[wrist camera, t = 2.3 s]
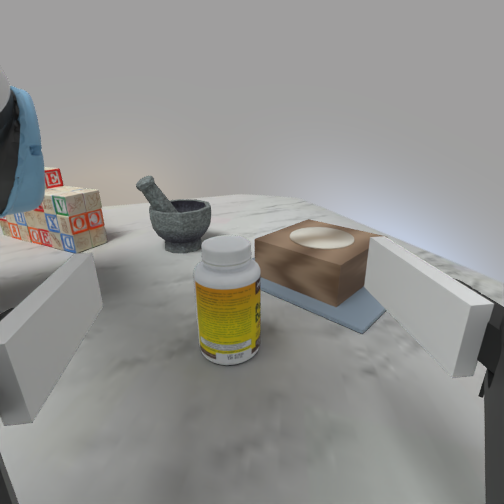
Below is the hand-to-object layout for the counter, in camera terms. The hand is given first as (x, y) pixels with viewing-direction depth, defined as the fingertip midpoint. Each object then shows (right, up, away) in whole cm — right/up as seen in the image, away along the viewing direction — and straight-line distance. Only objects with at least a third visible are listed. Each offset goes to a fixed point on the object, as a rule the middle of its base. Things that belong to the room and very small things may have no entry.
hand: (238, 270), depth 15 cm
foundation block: (+9, -2, +27) cm, 29 cm away
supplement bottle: (-1, -8, +14) cm, 16 cm away
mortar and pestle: (-11, +2, +38) cm, 40 cm away
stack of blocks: (-35, +3, +43) cm, 56 cm away
